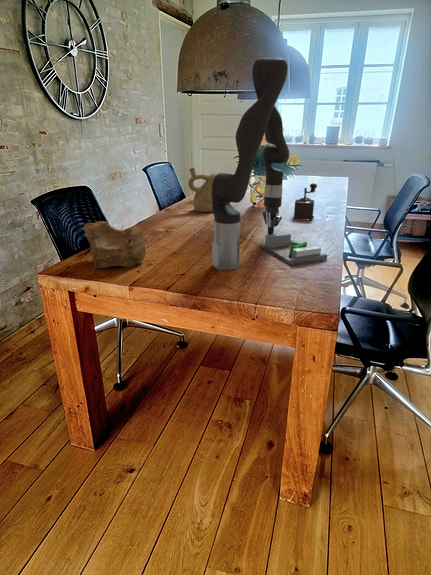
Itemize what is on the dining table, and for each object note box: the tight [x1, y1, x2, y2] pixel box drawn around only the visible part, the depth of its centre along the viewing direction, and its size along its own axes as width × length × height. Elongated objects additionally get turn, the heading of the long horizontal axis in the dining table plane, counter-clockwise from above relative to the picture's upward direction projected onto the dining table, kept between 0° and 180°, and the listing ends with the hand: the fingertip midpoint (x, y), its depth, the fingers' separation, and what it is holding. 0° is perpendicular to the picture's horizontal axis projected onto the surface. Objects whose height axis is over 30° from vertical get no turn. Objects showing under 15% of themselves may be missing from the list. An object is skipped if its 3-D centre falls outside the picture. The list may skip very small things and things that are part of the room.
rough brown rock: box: [83, 220, 147, 270], centre depth 138 cm, size 23×17×15 cm
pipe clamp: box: [288, 241, 308, 257], centre depth 152 cm, size 11×4×5 cm, turn 145°
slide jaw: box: [264, 232, 292, 249], centre depth 163 cm, size 11×3×5 cm, turn 113°
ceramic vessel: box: [187, 167, 218, 213], centre depth 223 cm, size 17×20×25 cm
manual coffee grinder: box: [293, 183, 318, 221], centre depth 211 cm, size 16×11×18 cm
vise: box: [259, 239, 328, 267], centre depth 154 cm, size 16×25×5 cm, turn 23°
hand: (270, 234), depth 167 cm, fingers closed
